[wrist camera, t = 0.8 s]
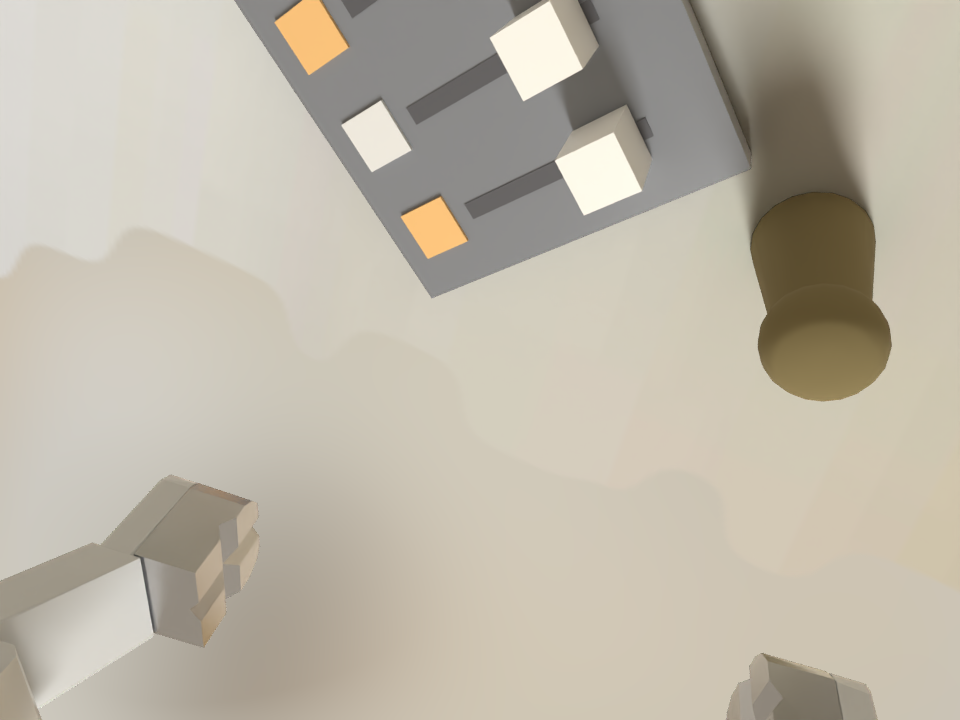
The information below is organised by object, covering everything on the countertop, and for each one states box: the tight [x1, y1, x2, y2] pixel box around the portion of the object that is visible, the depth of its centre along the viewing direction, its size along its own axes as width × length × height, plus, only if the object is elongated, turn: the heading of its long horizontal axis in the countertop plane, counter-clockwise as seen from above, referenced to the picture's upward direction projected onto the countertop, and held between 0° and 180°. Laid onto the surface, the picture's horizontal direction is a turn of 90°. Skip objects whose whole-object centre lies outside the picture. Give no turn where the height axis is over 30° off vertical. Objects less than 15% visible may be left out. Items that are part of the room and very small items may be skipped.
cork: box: [750, 192, 892, 401], centre depth 34 cm, size 6×6×11 cm
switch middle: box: [490, 0, 599, 101], centre depth 32 cm, size 3×3×4 cm
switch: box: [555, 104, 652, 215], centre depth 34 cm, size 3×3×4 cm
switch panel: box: [234, 0, 752, 298], centre depth 37 cm, size 20×20×2 cm
